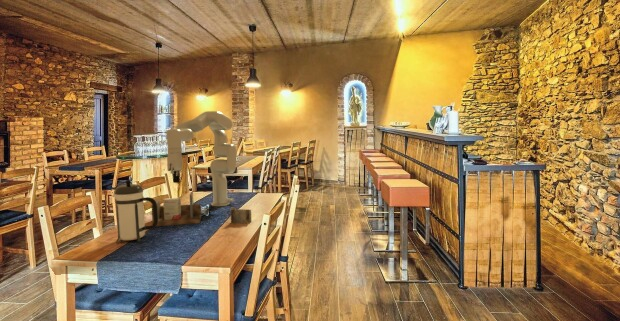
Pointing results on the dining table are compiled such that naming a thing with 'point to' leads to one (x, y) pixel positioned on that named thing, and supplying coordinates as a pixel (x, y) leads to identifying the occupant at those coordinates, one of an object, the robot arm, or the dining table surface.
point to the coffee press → (132, 212)
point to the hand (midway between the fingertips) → (176, 182)
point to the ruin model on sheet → (240, 215)
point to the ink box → (172, 208)
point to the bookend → (193, 216)
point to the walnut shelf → (183, 220)
